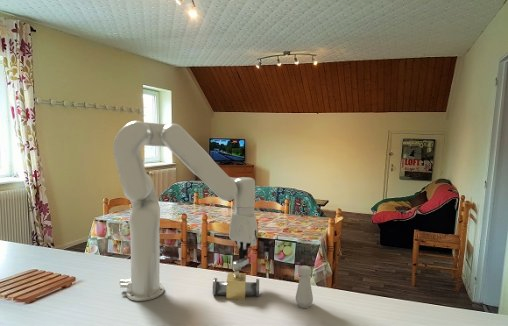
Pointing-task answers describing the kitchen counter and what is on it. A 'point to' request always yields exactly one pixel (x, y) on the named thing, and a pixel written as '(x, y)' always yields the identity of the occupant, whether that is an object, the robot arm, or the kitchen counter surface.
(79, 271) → the kitchen counter surface
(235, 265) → the valve lever
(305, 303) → the salt shaker
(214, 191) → the robot arm
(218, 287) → the valve pipe
